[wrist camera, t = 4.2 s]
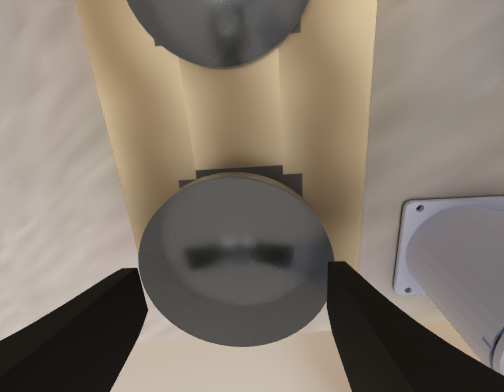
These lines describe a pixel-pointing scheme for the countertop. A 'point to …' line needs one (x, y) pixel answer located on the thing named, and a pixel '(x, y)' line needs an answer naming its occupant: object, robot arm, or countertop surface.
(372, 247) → the countertop surface
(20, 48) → the countertop surface
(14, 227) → the countertop surface
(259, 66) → the block
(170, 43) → the peg
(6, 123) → the countertop surface
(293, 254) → the peg
